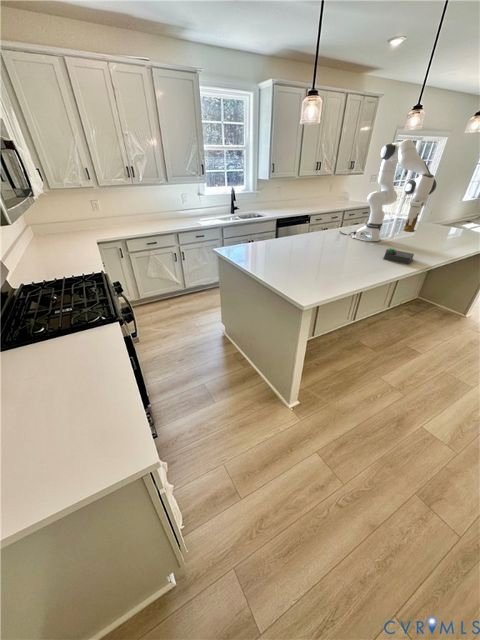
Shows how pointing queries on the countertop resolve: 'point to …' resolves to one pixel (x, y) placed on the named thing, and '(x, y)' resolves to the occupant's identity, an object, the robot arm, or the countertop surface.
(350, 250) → the countertop surface
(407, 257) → the control panel
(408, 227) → the condiment
